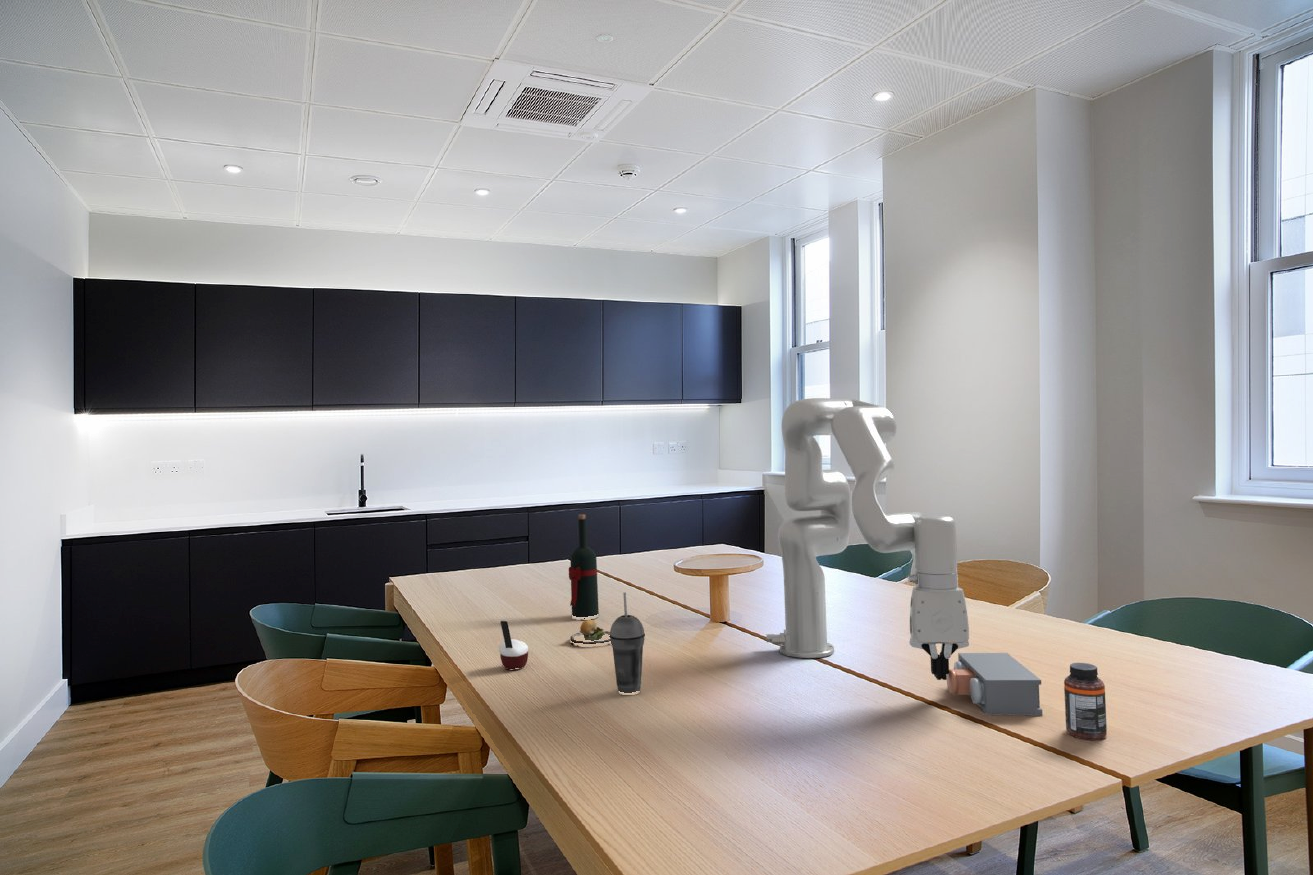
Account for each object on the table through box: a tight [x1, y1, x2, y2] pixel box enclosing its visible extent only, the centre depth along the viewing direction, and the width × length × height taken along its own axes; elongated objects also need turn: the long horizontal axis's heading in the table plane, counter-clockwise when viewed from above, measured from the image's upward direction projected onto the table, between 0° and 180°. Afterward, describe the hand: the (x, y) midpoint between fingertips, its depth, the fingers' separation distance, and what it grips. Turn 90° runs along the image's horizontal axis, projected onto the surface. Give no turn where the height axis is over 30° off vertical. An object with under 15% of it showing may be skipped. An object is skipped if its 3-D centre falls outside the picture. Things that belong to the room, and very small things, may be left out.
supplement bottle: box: [1063, 662, 1108, 741], centre depth 130 cm, size 6×6×11 cm
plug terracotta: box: [946, 668, 975, 695], centre depth 150 cm, size 9×4×4 cm, turn 84°
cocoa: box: [498, 620, 530, 670], centre depth 180 cm, size 10×6×12 cm, turn 144°
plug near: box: [970, 678, 985, 705], centre depth 144 cm, size 9×4×4 cm, turn 84°
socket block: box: [957, 652, 1043, 716], centre depth 149 cm, size 9×18×6 cm, turn 174°
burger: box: [569, 618, 611, 644], centre depth 203 cm, size 12×12×8 cm
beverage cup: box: [609, 591, 646, 693], centre depth 161 cm, size 7×7×20 cm
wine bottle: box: [568, 513, 600, 617], centre depth 231 cm, size 8×10×30 cm
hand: (940, 677), depth 150 cm, fingers closed
